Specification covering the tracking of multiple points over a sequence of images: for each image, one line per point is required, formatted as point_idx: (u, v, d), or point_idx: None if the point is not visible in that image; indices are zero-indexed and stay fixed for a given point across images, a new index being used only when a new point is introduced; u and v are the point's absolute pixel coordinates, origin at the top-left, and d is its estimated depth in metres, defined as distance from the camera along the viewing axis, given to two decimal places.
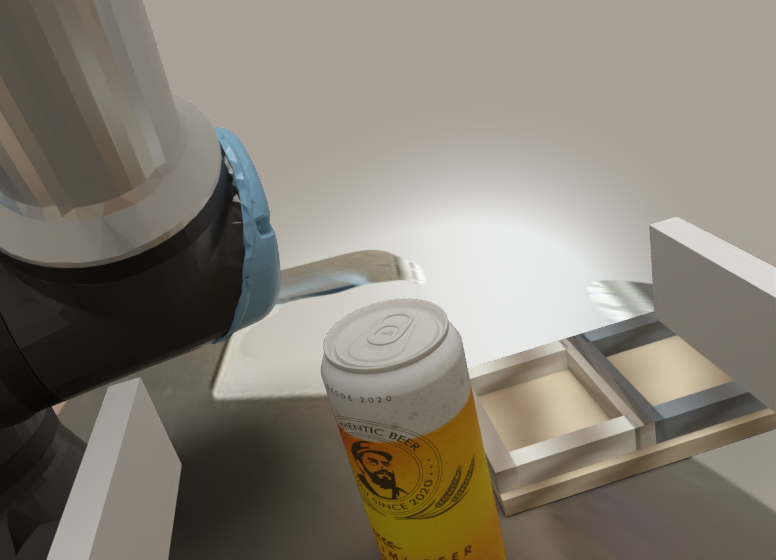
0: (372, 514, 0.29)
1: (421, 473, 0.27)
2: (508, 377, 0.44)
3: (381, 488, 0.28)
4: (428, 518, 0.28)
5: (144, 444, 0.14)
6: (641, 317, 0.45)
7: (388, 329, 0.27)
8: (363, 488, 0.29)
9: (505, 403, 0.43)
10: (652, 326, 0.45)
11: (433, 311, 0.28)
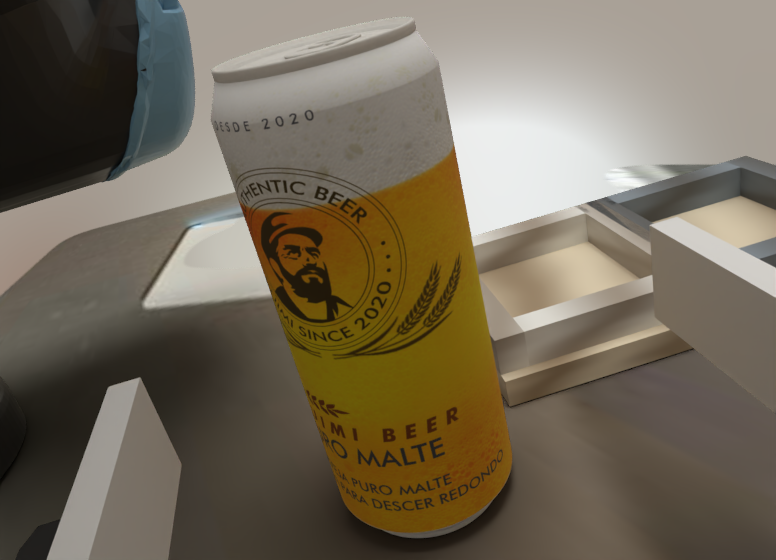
0: (302, 361, 0.19)
1: (371, 268, 0.16)
2: (510, 250, 0.34)
3: (309, 303, 0.17)
4: (387, 354, 0.17)
5: (144, 444, 0.14)
6: (682, 176, 0.35)
7: (318, 43, 0.17)
8: (285, 315, 0.18)
9: (506, 280, 0.32)
10: (697, 185, 0.34)
11: (393, 28, 0.18)
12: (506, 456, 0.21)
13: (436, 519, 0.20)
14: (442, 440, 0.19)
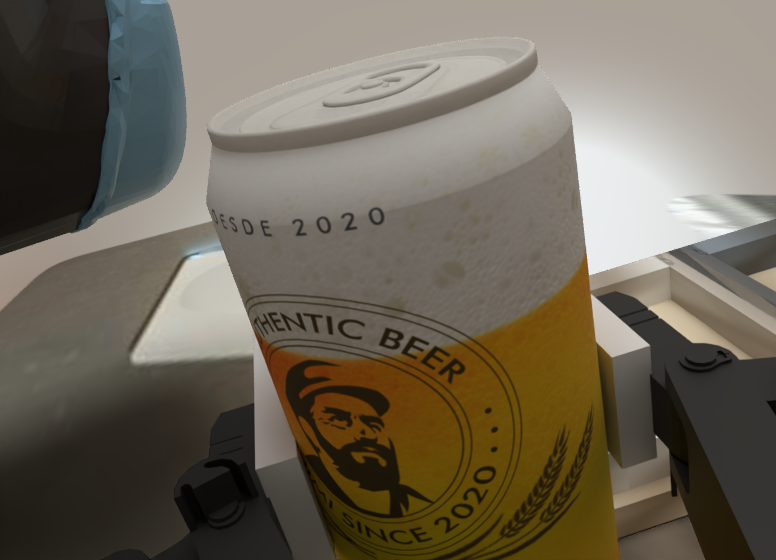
0: (344, 551, 0.12)
1: (467, 448, 0.10)
2: None
3: (361, 490, 0.11)
4: None
5: None
6: None
7: (376, 81, 0.11)
8: (321, 490, 0.12)
9: None
10: None
11: (486, 54, 0.12)
12: None
13: None
14: None
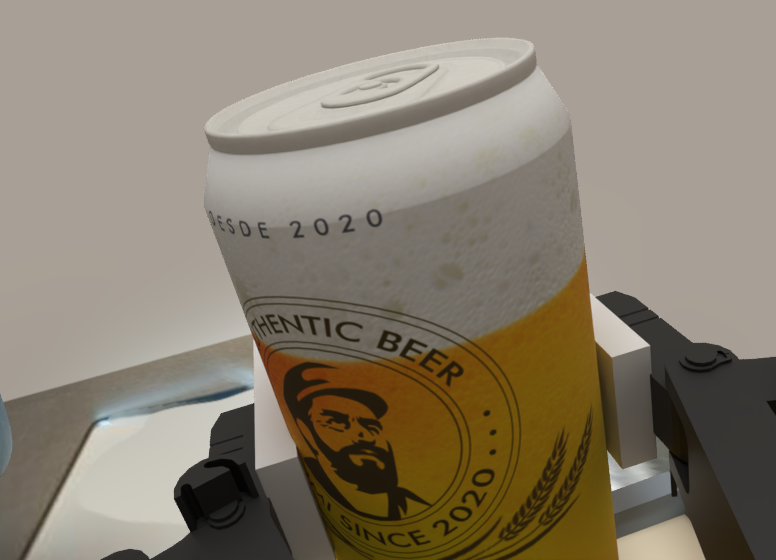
0: (343, 553, 0.12)
1: (465, 450, 0.10)
2: None
3: (359, 492, 0.11)
4: None
5: None
6: (618, 493, 0.30)
7: (375, 81, 0.11)
8: (319, 492, 0.12)
9: None
10: (634, 511, 0.30)
11: (485, 55, 0.12)
12: None
13: None
14: None
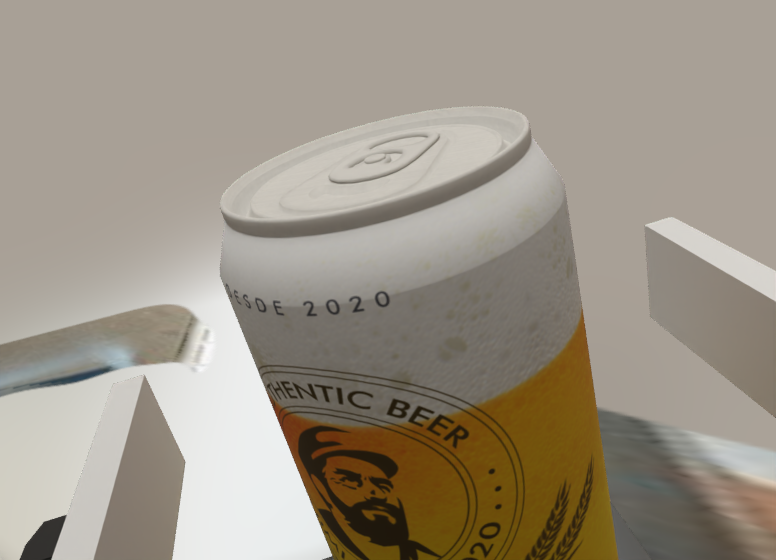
0: None
1: (472, 506, 0.10)
2: None
3: (372, 545, 0.11)
4: None
5: (149, 441, 0.14)
6: None
7: (379, 155, 0.11)
8: (333, 541, 0.12)
9: None
10: None
11: (483, 122, 0.12)
12: None
13: None
14: None
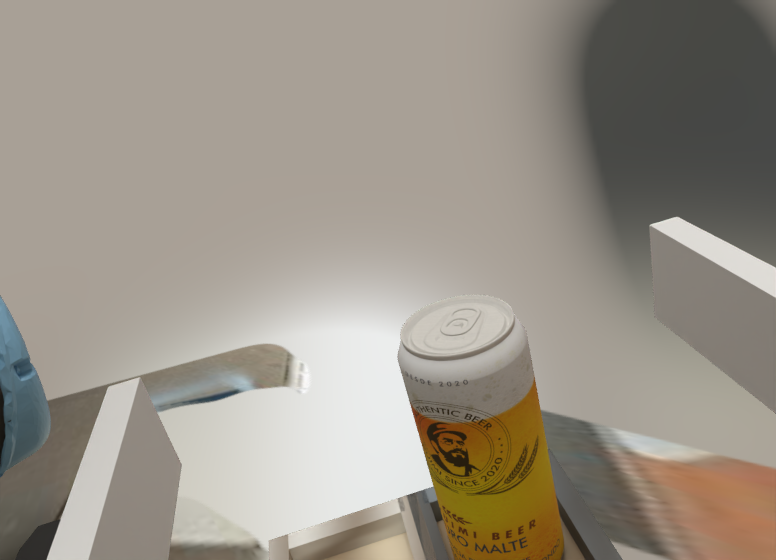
0: (444, 492, 0.32)
1: (492, 451, 0.29)
2: (336, 544, 0.39)
3: (454, 466, 0.30)
4: (498, 493, 0.31)
5: (144, 444, 0.14)
6: None
7: (458, 322, 0.30)
8: (436, 467, 0.31)
9: None
10: None
11: (497, 305, 0.31)
12: (561, 542, 0.34)
13: None
14: (526, 538, 0.32)
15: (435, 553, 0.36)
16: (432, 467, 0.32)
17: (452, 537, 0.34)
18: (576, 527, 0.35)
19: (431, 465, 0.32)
